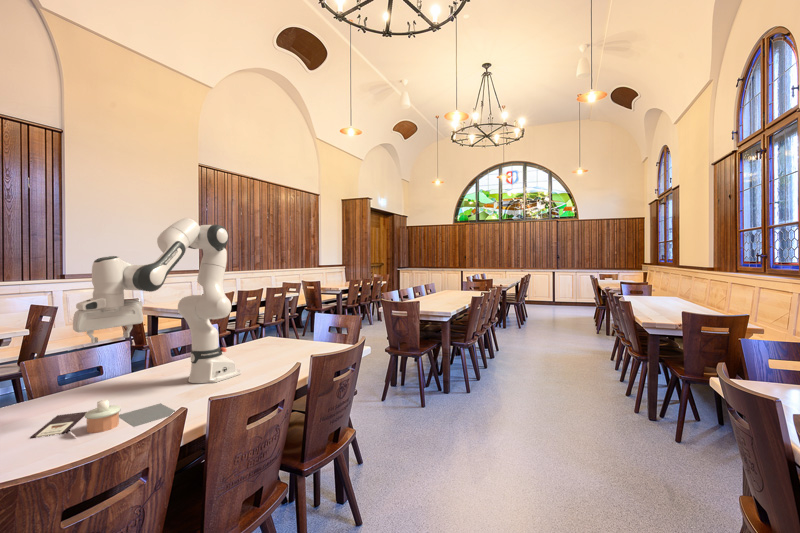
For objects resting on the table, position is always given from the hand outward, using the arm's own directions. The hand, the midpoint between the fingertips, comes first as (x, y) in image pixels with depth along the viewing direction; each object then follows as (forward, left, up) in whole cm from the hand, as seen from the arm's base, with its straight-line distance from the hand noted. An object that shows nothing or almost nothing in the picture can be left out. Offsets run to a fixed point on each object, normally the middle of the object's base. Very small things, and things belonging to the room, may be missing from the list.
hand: (111, 340), depth 136 cm
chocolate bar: (+13, -2, -27) cm, 30 cm away
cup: (+6, +13, -26) cm, 30 cm away
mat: (-7, +13, -26) cm, 30 cm away
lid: (+6, +13, -21) cm, 26 cm away
